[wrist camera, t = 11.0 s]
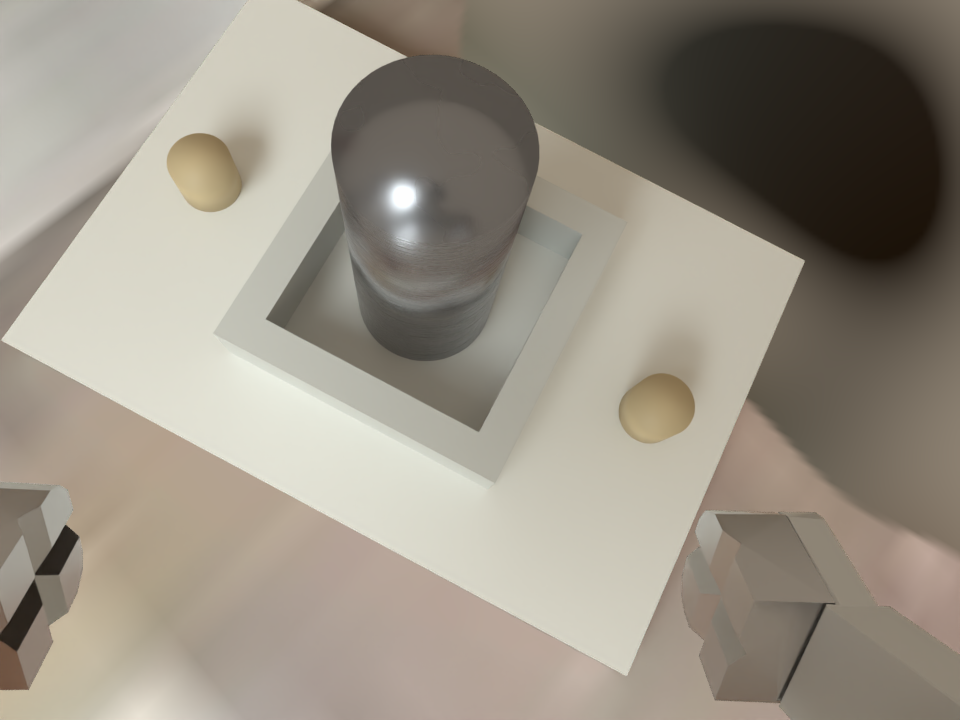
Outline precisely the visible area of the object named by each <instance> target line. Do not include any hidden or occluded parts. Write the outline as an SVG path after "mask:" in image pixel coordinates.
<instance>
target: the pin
mask: <svg viewBox="0 0 960 720" xmlns="http://www.w3.org/2000/svg"><path fill="white" fill-rule="evenodd" d="M331 155H332V162H333V167H334V173H335V178H336V184H337V189H338V194H339V200H340V205H341V211H342V216H343V221H344V227H345V232H346V238H347V243H348V248H349V254H350V259H351V265H352V270H353V275H354V281H355V286H356V291H357V297H358V302H359V307H360V312H361V316H362V318H363V321H364V323H365V325H366V327H367V329H368V331H369V332H370V333H371V335H372V336H373V337H374V338H375V339H376V341H377V342H378V343H379V344H381V345H382V346H383V347H384V348H386V349H387V350H389V351H390V352H392V353H394V354H396V355H398V356H401V357H404V358H407V359H411V360H416V361H435V360H440V359H445V358H448V357H450V356H453V355H455V354H457V353H459V352H461V351H462V350H464V349H465V348H467V347H468V346H469V345H470V344H471V343H472V342H473V341H474V340H475V339H476V338H477V337H478V336H479V334H480V333H481V331H482V330H483V328H484V326H485V324H486V322H487V319H488V316H489V313H490V310H491V307H492V304H493V301H494V299H495V296H496V293H497V290H498V287H499V284H500V281H501V278H502V275H503V272H504V269H505V266H506V264H507V261H508V258H509V255H510V252H511V249H512V246H513V243H514V240H515V237H516V234H517V231H518V229H519V226H520V223H521V220H522V217H523V214H524V211H525V208H526V205H527V202H528V199H529V196H530V194H531V191H532V188H533V185H534V182H535V178H536V175H537V172H538V166H539V140H538V134H537V130H536V127H535V123H534V121H533V119H532V116H531V114H530V112H529V110H528V108H527V107H526V105H525V103H524V102H523V100H522V99H521V98H520V97H519V96H518V94H517V93H516V92H515V91H514V90H513V89H512V88H511V87H510V86H509V85H508V84H507V83H506V82H505V81H504V80H502V79H501V78H500V77H498V76H497V75H496V74H494V73H492V72H491V71H489V70H488V69H486V68H484V67H482V66H480V65H477V64H475V63H472V62H470V61H467V60H463V59H460V58H455V57H450V56H442V55H419V56H413V57H407V58H403V59H400V60H396V61H393V62H391V63H388V64H386V65H384V66H382V67H380V68H378V69H376V70H375V71H373V72H371V73H370V74H369V75H367V76H366V77H365V78H363V79H362V80H361V81H360V82H359V83H358V84H357V85H356V86H355V87H354V88H353V89H352V90H351V91H350V93H349V94H348V95H347V97H346V98H345V100H344V101H343V103H342V105H341V107H340V108H339V111H338V113H337V116H336V118H335V121H334V125H333V130H332V137H331Z"/></svg>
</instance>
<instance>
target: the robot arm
mask: <svg viewBox="0 0 960 720" xmlns="http://www.w3.org/2000/svg"><path fill="white" fill-rule="evenodd" d="M72 511H73V507H72V503H71V500H70V496H69V493H68V490H67V489H65V488H63V487H62V486H60V485H46V484H29V483H13V482H0V690H29V688H30V686H31V684H32V682H33V680H34V678H35V677H36V675H37V673H38V671H39V669H40V667H41V665H42V663H43V661H44V659H45V657H46V655H47V653H48V651H49V649H50V647H51V645H52V643H53V640H52V637H51V633H50V629H49V625H50V624H52V623H53V622H55V621H56V620H58V619H59V618H60V617H62V616H63V615H65V614H66V613H67V612H68V611H69V609H70V607H71V605H72V603H73V601H74V599H75V597H76V594H77V592H78V588H79V583H80V579H81V575H82V570H83V551H82V546H81V541H80V537H79V536H78V535H77V534H76V533H75V532H74V531H72V530H71V529H70V528H69V527H68V526H67V525H65V524H66V522H67V520H68V519H69V517H70V515H71V513H72ZM695 534H696V536H697V539H698V541H699V544H700V547H699V548H697V549H696V550H695V551H694V552H692V553H691V554H690V555H688V556H687V559H686V562H685V566H684V570H683V573H682V592H681V596H682V602H683V608H684V612H685V615H686V619H687V622H688V625H689V627H690V628H691V629H692V630H693V631H694V632H695V633H697V634H698V635H699V636H700V637H701V638H702V639H703V640H704V643H703V646H702V649H701V651H700V654H699V657H700V660H701V662H702V665H703V668H704V671H705V674H706V677H707V679H708V682H709V685H710V688H711V691H712V694H713V697H714V699H715V700H721V701H744V702H766V703H780V705H779V707H780V708H781V709H782V710H783V711H784V712H785V713H786V714H787V716H788V717H789V718H790V719H791V720H960V655H959V654H958V653H956V652H955V651H953V650H952V649H950V648H949V647H948V646H946V645H945V644H943V643H942V642H940V641H939V640H937V639H936V638H935V637H933V636H932V635H930V634H929V633H927V632H926V631H924V630H923V629H922V628H920V627H919V626H917V625H916V624H914V623H913V622H911V621H910V620H909V619H907V618H906V617H904V616H903V615H901V614H900V613H898V612H897V611H896V610H894V609H893V608H891V607H889V606H878V604H877V603H876V601H875V600H874V598H873V596H872V595H871V593H870V592H869V590H868V588H867V587H866V585H865V584H864V582H863V580H862V579H861V577H860V576H859V574H858V572H857V571H856V569H855V568H854V566H853V564H852V563H851V561H850V560H849V558H848V556H847V555H846V553H845V552H844V550H843V548H842V547H841V545H840V544H839V542H838V540H837V539H836V537H835V536H834V534H833V532H832V531H831V529H830V528H829V526H828V524H827V523H826V521H825V520H824V518H823V517H821V516H820V515H818V514H817V513H814V512H778V513H775V512H749V511H717V510H706V511H705V512H704V513H703V514H702V516H701V517H700V519H699V522H698V524H697V527H696V530H695Z"/></svg>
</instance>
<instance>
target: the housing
mask: <svg viewBox="0 0 960 720" xmlns="http://www.w3.org/2000/svg"><path fill="white" fill-rule="evenodd" d="M403 58H407V57H406V56H405V55H403V54H401V53H399V52H397V51H395V50H393V49H391V48H389V47H387V46H385V45H383V44H381V43H379V42H377V41H375V40H373V39H371V38H369V37H367V36H366V35H364V34H362V33H360V32H358V31H356V30H354V29H352V28H350V27H348V26H346V25H344V24H342V23H340V22H338V21H336V20H334V19H332V18H330V17H328V16H327V15H325V14H323V13H321V12H319V11H317V10H315V9H313V8H311V7H309V6H307V5H305V4H303V3H301V2H299V1H297V0H247V2H246V3H245V5H244V6H243V7H242V9H241V10H240V11H239V13H238V14H237V16H236V17H235V18H234V20H233V21H232V23H231V24H230V25H229V27H228V28H227V29H226V31H225V32H224V34H223V35H222V36H221V38H220V39H219V40H218V42H217V43H216V45H215V46H214V47H213V49H212V50H211V51H210V53H209V54H208V56H207V57H206V58H205V60H204V61H203V63H202V64H201V65H200V67H199V68H198V69H197V71H196V72H195V74H194V75H193V76H192V78H191V79H190V80H189V82H188V83H187V85H186V86H185V87H184V89H183V90H182V91H181V93H180V94H179V96H178V97H177V98H176V100H175V101H174V102H173V104H172V105H171V107H170V108H169V109H168V111H167V112H166V114H165V115H164V116H163V118H162V119H161V120H160V122H159V123H158V125H157V126H156V127H155V129H154V130H153V131H152V133H151V134H150V136H149V137H148V138H147V140H146V141H145V142H144V144H143V145H142V147H141V148H140V149H139V151H138V152H137V154H136V155H135V156H134V158H133V159H132V160H131V162H130V163H129V165H128V166H127V167H126V169H125V170H124V171H123V173H122V174H121V176H120V177H119V178H118V180H117V181H116V182H115V184H114V185H113V187H112V188H111V189H110V191H109V192H108V194H107V195H106V196H105V198H104V199H103V200H102V202H101V203H100V205H99V206H98V207H97V209H96V210H95V211H94V213H93V214H92V216H91V217H90V218H89V220H88V221H87V222H86V224H85V225H84V227H83V228H82V229H81V231H80V232H79V233H78V235H77V236H76V238H75V239H74V240H73V242H72V243H71V245H70V246H69V247H68V249H67V250H66V251H65V253H64V254H63V256H62V257H61V258H60V260H59V261H58V262H57V264H56V265H55V267H54V268H53V269H52V271H51V272H50V273H49V275H48V276H47V278H46V279H45V280H44V282H43V283H42V285H41V286H40V287H39V289H38V290H37V291H36V293H35V294H34V296H33V297H32V298H31V300H30V301H29V302H28V304H27V305H26V307H25V308H24V309H23V311H22V312H21V313H20V315H19V316H18V318H17V319H16V320H15V322H14V323H13V325H12V326H11V327H10V329H9V330H8V331H7V333H6V334H5V336H4V337H3V338H2V340H1V341H3V342H5V343H7V344H9V345H11V346H13V347H14V348H16V349H18V350H20V351H22V352H24V353H26V354H27V355H29V356H31V357H33V358H35V359H37V360H39V361H40V362H42V363H44V364H46V365H48V366H50V367H52V368H54V369H55V370H57V371H59V372H61V373H63V374H65V375H67V376H68V377H70V378H72V379H74V380H76V381H78V382H80V383H81V384H83V385H85V386H87V387H89V388H91V389H93V390H94V391H96V392H98V393H100V394H102V395H104V396H106V397H108V398H109V399H111V400H113V401H115V402H117V403H119V404H121V405H122V406H124V407H126V408H128V409H130V410H132V411H134V412H135V413H137V414H139V415H141V416H143V417H145V418H147V419H148V420H150V421H152V422H154V423H156V424H158V425H160V426H162V427H163V428H165V429H167V430H169V431H171V432H173V433H175V434H176V435H178V436H180V437H182V438H184V439H186V440H188V441H189V442H191V443H193V444H195V445H197V446H199V447H201V448H202V449H204V450H206V451H208V452H210V453H212V454H214V455H215V456H217V457H219V458H221V459H223V460H225V461H227V462H229V463H230V464H232V465H234V466H236V467H238V468H240V469H242V470H243V471H245V472H247V473H249V474H251V475H253V476H255V477H256V478H258V479H260V480H262V481H264V482H266V483H268V484H269V485H271V486H273V487H275V488H277V489H279V490H281V491H283V492H284V493H286V494H288V495H290V496H292V497H294V498H296V499H297V500H299V501H301V502H303V503H305V504H307V505H309V506H310V507H312V508H314V509H316V510H318V511H320V512H322V513H323V514H325V515H327V516H329V517H331V518H333V519H335V520H336V521H338V522H340V523H342V524H344V525H346V526H348V527H350V528H351V529H353V530H355V531H357V532H359V533H361V534H363V535H364V536H366V537H368V538H370V539H372V540H374V541H376V542H377V543H379V544H381V545H383V546H385V547H387V548H389V549H390V550H392V551H394V552H396V553H398V554H400V555H402V556H404V557H405V558H407V559H409V560H411V561H413V562H415V563H417V564H418V565H420V566H422V567H424V568H426V569H428V570H430V571H431V572H433V573H435V574H437V575H439V576H441V577H443V578H444V579H446V580H448V581H450V582H452V583H454V584H456V585H457V586H459V587H461V588H463V589H465V590H467V591H469V592H471V593H472V594H474V595H476V596H478V597H480V598H482V599H484V600H485V601H487V602H489V603H491V604H493V605H495V606H497V607H498V608H500V609H502V610H504V611H506V612H508V613H510V614H511V615H513V616H515V617H517V618H519V619H521V620H523V621H525V622H526V623H528V624H530V625H532V626H534V627H536V628H538V629H539V630H541V631H543V632H545V633H547V634H549V635H551V636H552V637H554V638H556V639H558V640H560V641H562V642H564V643H565V644H567V645H569V646H571V647H573V648H575V649H577V650H579V651H580V652H582V653H584V654H586V655H588V656H590V657H592V658H593V659H595V660H597V661H599V662H601V663H603V664H605V665H606V666H608V667H610V668H612V669H614V670H616V671H618V672H619V673H621V674H623V675H625V676H627V674H628V672H629V670H630V667H631V665H632V663H633V660H634V658H635V656H636V653H637V651H638V649H639V646H640V644H641V642H642V639H643V637H644V635H645V632H646V630H647V628H648V625H649V623H650V621H651V618H652V616H653V614H654V611H655V609H656V607H657V604H658V602H659V600H660V597H661V595H662V593H663V590H664V588H665V586H666V584H667V581H668V579H669V577H670V574H671V572H672V570H673V567H674V565H675V563H676V560H677V558H678V556H679V553H680V551H681V549H682V546H683V544H684V542H685V539H686V537H687V535H688V532H689V530H690V528H691V525H692V523H693V521H694V518H695V516H696V514H697V511H698V509H699V507H700V504H701V502H702V500H703V497H704V495H705V493H706V490H707V488H708V486H709V483H710V481H711V479H712V476H713V474H714V472H715V469H716V467H717V465H718V462H719V460H720V458H721V455H722V453H723V451H724V448H725V446H726V444H727V441H728V439H729V437H730V434H731V432H732V430H733V427H734V425H735V423H736V420H737V418H738V416H739V413H740V411H741V409H742V406H743V404H744V402H745V399H746V397H747V395H748V392H749V390H750V388H751V385H752V383H753V381H754V378H755V376H756V374H757V371H758V369H759V367H760V364H761V362H762V360H763V357H764V355H765V353H766V350H767V348H768V346H769V343H770V341H771V339H772V336H773V334H774V332H775V329H776V327H777V325H778V322H779V320H780V318H781V315H782V313H783V311H784V309H785V306H786V304H787V301H788V299H789V297H790V295H791V292H792V290H793V288H794V285H795V283H796V280H797V278H798V276H799V273H800V271H801V269H802V266H803V264H804V262H805V261H804V260H802V259H800V258H799V257H797V256H795V255H793V254H791V253H789V252H787V251H785V250H783V249H781V248H779V247H777V246H775V245H773V244H771V243H769V242H767V241H765V240H763V239H761V238H760V237H757V236H756V235H754V234H752V233H750V232H748V231H746V230H744V229H742V228H740V227H738V226H736V225H734V224H732V223H730V222H728V221H726V220H724V219H722V218H720V217H718V216H717V215H715V214H713V213H710V212H709V211H707V210H705V209H703V208H701V207H699V206H697V205H695V204H693V203H691V202H689V201H687V200H685V199H683V198H681V197H679V196H677V195H675V194H674V193H672V192H670V191H668V190H666V189H664V188H662V187H660V186H658V185H656V184H654V183H652V182H650V181H648V180H646V179H644V178H642V177H641V176H638V175H637V174H635V173H633V172H631V171H629V170H627V169H625V168H623V167H621V166H619V165H617V164H615V163H613V162H611V161H609V160H607V159H605V158H603V157H602V156H600V155H598V154H596V153H594V152H592V151H590V150H588V149H586V148H584V147H582V146H580V145H578V144H576V143H574V142H572V141H570V140H568V139H566V138H564V137H562V136H561V135H559V134H557V133H555V132H553V131H551V130H549V129H547V128H545V127H543V126H541V125H539V124H537V123H535V122H534V123H535V127H536V130H537V134H538V140H539V166H538V172H537V175H536V178H535V182H534V185H533V188H532V191H531V194H530V196H529V199H528V202H527V205H526V208H525V211H524V214H523V217H522V220H521V223H520V226H519V229H518V231H517V234H516V237H515V240H514V243H513V246H512V249H511V252H510V255H509V258H508V261H507V264H506V266H505V269H504V272H503V275H502V278H501V281H500V284H499V287H498V290H497V293H496V296H495V299H494V301H493V304H492V307H491V310H490V313H489V316H488V319H487V322H486V324H485V326H484V328H483V330H482V331H481V333H480V334H479V336H478V337H477V338H476V339H475V340H474V341H473V342H472V343H471V344H470V345H469V346H468V347H467V348H465V349H464V350H462V351H461V352H459V353H457V354H455V355H453V356H450V357H448V358H445V359H440V360H435V361H416V360H411V359H407V358H404V357H401V356H398V355H396V354H394V353H392V352H390V351H389V350H387V349H386V348H384V347H383V346H382V345H381V344H379V343H378V342H377V341H376V339H375V338H374V337H373V336H372V335H371V333H370V332H369V331H368V329H367V327H366V325H365V323H364V321H363V318H362V316H361V312H360V307H359V302H358V297H357V291H356V286H355V281H354V275H353V270H352V265H351V259H350V254H349V248H348V243H347V238H346V232H345V227H344V221H343V216H342V211H341V205H340V200H339V194H338V189H337V184H336V178H335V173H334V167H333V162H332V155H331V137H332V130H333V125H334V121H335V118H336V116H337V113H338V111H339V108H340V107H341V105H342V103H343V101H344V100H345V98H346V97H347V95H348V94H349V93H350V91H351V90H352V89H353V88H354V87H355V86H356V85H357V84H358V83H359V82H360V81H361V80H362V79H363V78H365V77H366V76H367V75H369V74H370V73H371V72H373V71H375V70H376V69H378V68H380V67H382V66H384V65H386V64H388V63H391V62H393V61H396V60H400V59H403Z"/></svg>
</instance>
